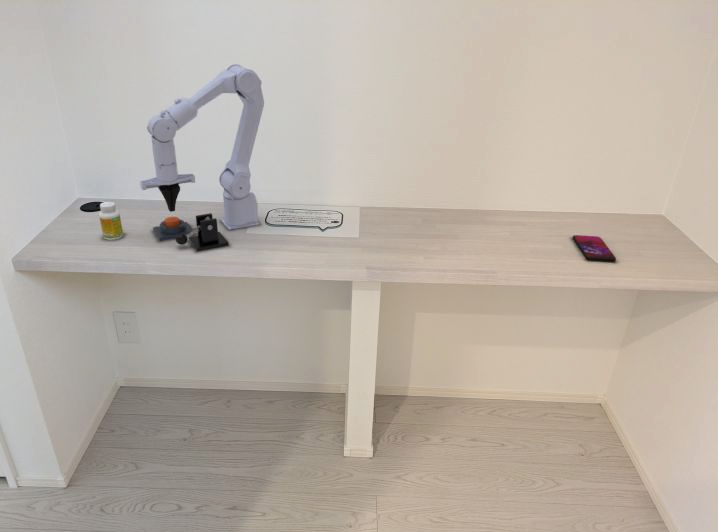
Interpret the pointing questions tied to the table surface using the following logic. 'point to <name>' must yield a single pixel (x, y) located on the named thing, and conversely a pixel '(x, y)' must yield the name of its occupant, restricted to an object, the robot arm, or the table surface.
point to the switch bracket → (207, 234)
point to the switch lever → (188, 234)
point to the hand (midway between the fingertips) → (171, 210)
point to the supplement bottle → (110, 221)
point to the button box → (171, 230)
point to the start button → (172, 221)
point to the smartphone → (594, 248)
